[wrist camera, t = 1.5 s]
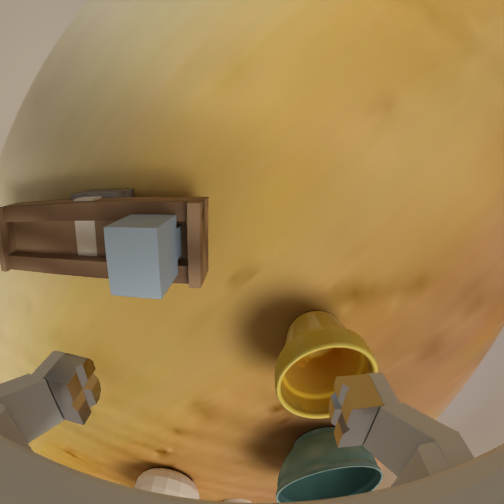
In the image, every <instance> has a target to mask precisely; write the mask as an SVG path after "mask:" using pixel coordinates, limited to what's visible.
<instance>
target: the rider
mask: <svg viewBox="0 0 504 504" xmlns="http://www.w3.org/2000/svg"><path fill="white" fill-rule="evenodd" d="M104 239H105V250H106V259H107V268H108V276H109V283H110V290H111V295H118V296H129V297H140V298H152V299H162V298H163V296H164V295H165V293H166V292H167V290H168V289H169V287H170V286H171V284H172V282H173V281H174V279H175V278H176V276H177V275H178V259H179V258H180V256H181V255H182V238H181V225H177V223H176V215H160V214H131V215H128V216H126V217H124V218H122V219H120V220H118V221H116V222H113V223H111V224H109V225H107V226H105V227H104Z"/></svg>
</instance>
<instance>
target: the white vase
mask: <svg viewBox="0 0 504 504" xmlns="http://www.w3.org/2000/svg"><path fill="white" fill-rule="evenodd" d="M134 488H137V489H141V490H146V491H151V492H155V493H161V494H166V495H172V496H178V497H185V498H192V499H199V494H198V491H197V487H196V484H195V483H194V482H193V481H192V480H190V479H189V478H188V477H187V476H186V475H184V474H182V473H180V472H177V471H174V470H171V469H165V468H153V469H150V470H147V471H144V472H143V473H142V474H141V475H140V476H139V477H138V479H137V481H136V484H135V487H134Z"/></svg>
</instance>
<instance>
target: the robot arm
mask: <svg viewBox="0 0 504 504" xmlns="http://www.w3.org/2000/svg"><path fill="white" fill-rule="evenodd" d="M94 371H95V366H94V363H93V361H92V360H91V359H89V358H84V357H80V356H76V355H72V354H68V353H64V352H60V351H53V352H52V353H51V354H50V355H49V356H48V357H47V358H46V360H45V361H44V362H43V363H42V364H41V365H40V366H39V367H38V368H37V369H36V370H35V371H34V373H33V374H32V375H31V374H26V375H24V376H21V377H18V378H16V379H13V380H10V381H7V382H5V383H2V384H0V504H504V444H502V445H500V446H498V447H496V448H494V449H492V450H490V451H488V452H486V453H484V454H482V455H480V456H478V457H476V458H474V457H473V455H472V453H471V452H470V450H469V448H468V447H467V445H466V443H465V442H464V440H463V438H462V437H461V435H460V434H459V432H457V431H455V430H453V429H451V428H449V427H448V426H445V425H444V424H442V423H440V422H438V421H436V420H434V419H433V418H431V417H429V416H427V415H425V414H423V413H422V412H420V411H418V410H416V409H414V408H412V407H411V406H409V405H407V404H405V403H400V402H399V400H398V399H397V397H396V395H395V393H394V392H393V390H392V388H391V386H390V384H389V383H388V381H387V379H386V377H385V376H384V374H383V373H381V372H377V373H368V374H361V375H349V376H337V378H336V379H335V382H334V389H335V393H334V394H333V395H332V396H331V398H330V402H329V417H330V421H331V423H332V424H333V425H335V426H336V427H335V430H334V436H335V440H336V443H337V447H338V448H341V447H351V446H360V445H363V447H364V448H365V449H367V450H368V451H369V452H370V453H371V454H372V455H373V456H374V457H376V458H377V459H378V460H379V461H380V462H381V463H382V464H384V465H385V466H386V467H387V468H388V469H389V470H391V471H392V472H393V473H394V474H395V475H396V476H398V478H397V479H396V481H395V482H394V483H393V484H392V486H391V487H389V488H385V489H381V490H376V491H371V492H367V493H361V494H356V495H350V496H344V497H337V498H330V499H322V500H312V501H300V502H282V503H241V502H222V501H210V500H201V499H192V498H185V497H178V496H172V495H166V494H161V493H155V492H151V491H146V490H141V489H137V488H133V487H129V486H125V485H121V484H117V483H114V482H110V481H107V480H104V479H101V478H97V477H94V476H91V475H88V474H86V473H83V472H80V471H77V470H74V469H72V468H69V467H67V466H64V465H62V464H59V463H57V462H55V461H52V460H50V459H48V458H45V457H43V456H41V455H39V454H37V453H35V452H33V450H32V449H31V447H30V446H29V444H28V443H29V442H31V441H32V440H34V439H36V438H37V437H39V436H40V435H42V434H44V433H45V432H47V431H48V430H50V429H51V428H53V427H54V426H56V425H58V424H59V423H61V422H62V421H64V419H65V420H68V421H71V422H75V423H78V424H82V425H84V424H85V422H86V421H87V419H88V417H89V415H90V414H91V410H90V407H91V406H93V405H95V404H96V403H97V401H98V400H99V397H100V392H101V388H100V382H99V379H98V378H97V377H96V376H95V374H94Z"/></svg>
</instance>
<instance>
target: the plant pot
mask: <svg viewBox="0 0 504 504" xmlns="http://www.w3.org/2000/svg"><path fill="white" fill-rule="evenodd" d="M377 372H378V366H377V362H376V360H375V357H374V355H373V353H372V352H371V350H370V348H369V346H368V345H367V343H366V342H365V340H364V339H363V338H362V337H361V336H360V335H358V334H357V333H355V332H354V331H351V330H349V329H346V328H345V327H344V326H343V325H342V324H341V323H340V322H339V321H338V320H337V319H336V318H335V317H334V316H333V315H331V314H329V313H327V312H323V311H311V312H307V313H304V314H302V315H301V316H299V317H298V318H296V319H295V320H294V321H293V322H292V324H291V325H290V327H289V329H288V332H287V337H286V342H285V347H284V348H283V350H282V351H281V353H280V354H279V356H278V359H277V361H276V365H275V389H276V395H277V398H278V400H279V402H280V403H281V404H282V406H283V407H284V408H285V409H287V410H288V411H290V412H291V413H293V414H295V415H298V416H301V417H305V418H313V419H320V418H328V417H329V402H330V398H331V396H332V395H333V394H334V393H335V389H334V382H335V379H336V378H337V376H349V375H361V374H368V373H377Z"/></svg>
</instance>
